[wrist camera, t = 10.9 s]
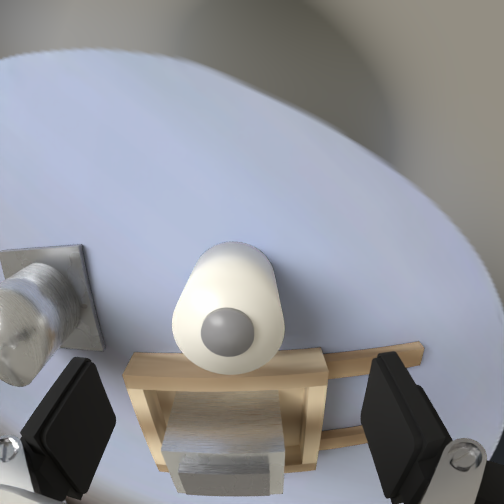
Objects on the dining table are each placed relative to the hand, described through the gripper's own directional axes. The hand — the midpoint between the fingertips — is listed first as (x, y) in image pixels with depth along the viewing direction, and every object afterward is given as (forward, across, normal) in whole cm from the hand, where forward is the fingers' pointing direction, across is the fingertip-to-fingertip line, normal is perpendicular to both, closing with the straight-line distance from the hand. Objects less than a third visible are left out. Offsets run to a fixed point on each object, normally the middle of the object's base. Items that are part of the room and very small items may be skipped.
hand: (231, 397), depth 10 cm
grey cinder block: (+10, +2, +12) cm, 16 cm away
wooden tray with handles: (+11, -2, +11) cm, 16 cm away
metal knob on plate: (+11, +15, +2) cm, 18 cm away
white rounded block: (+11, +1, 0) cm, 11 cm away
